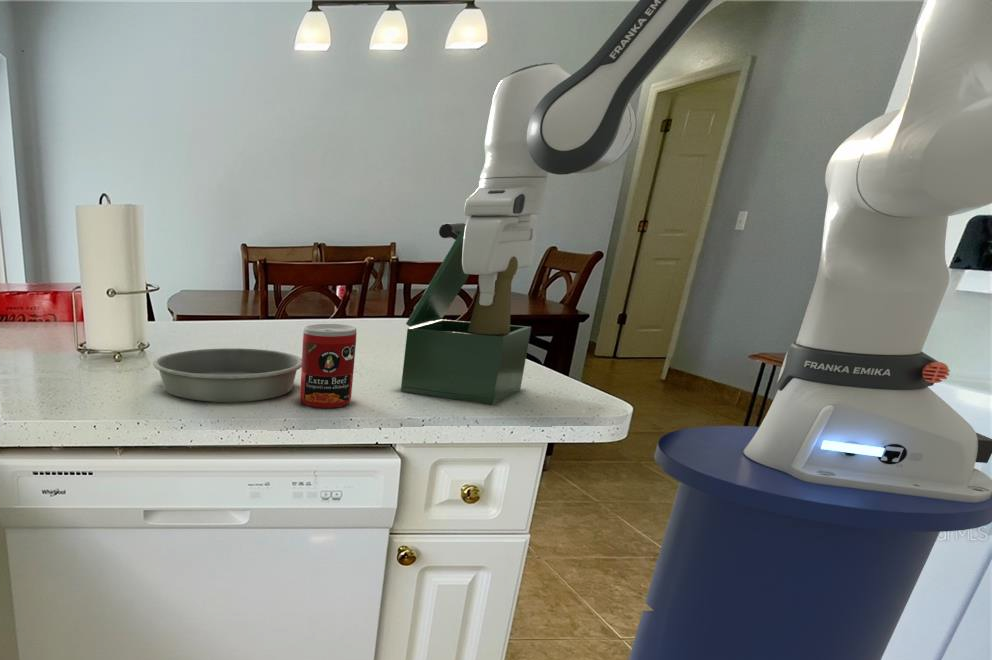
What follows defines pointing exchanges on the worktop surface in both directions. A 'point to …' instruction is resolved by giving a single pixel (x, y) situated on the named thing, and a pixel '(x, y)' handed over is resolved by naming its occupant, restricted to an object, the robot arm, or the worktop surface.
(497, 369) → the waste bin
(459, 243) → the bin lid
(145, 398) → the worktop surface
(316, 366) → the canned food
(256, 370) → the cake pan
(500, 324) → the tan pawn
